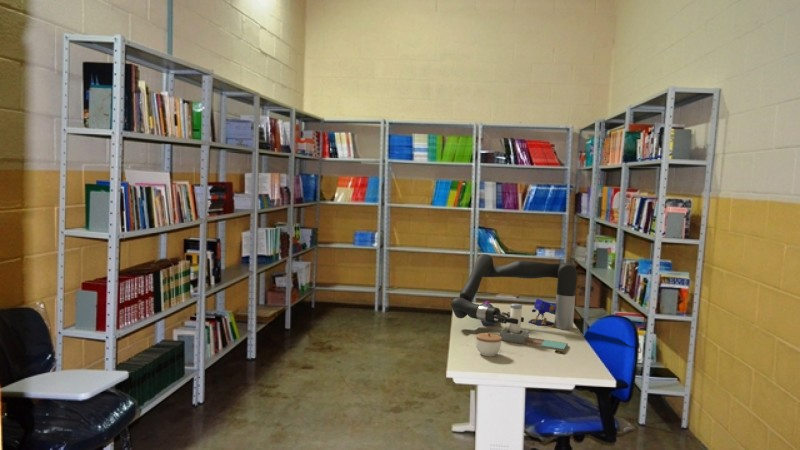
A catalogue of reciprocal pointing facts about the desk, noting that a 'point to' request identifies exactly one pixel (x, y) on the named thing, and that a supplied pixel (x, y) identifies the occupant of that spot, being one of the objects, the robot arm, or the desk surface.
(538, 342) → the base board
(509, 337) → the grey square socket
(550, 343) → the mat
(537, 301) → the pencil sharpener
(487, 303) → the pencil case
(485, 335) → the lidded jar
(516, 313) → the capped cream cylinder
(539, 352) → the desk surface
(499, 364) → the desk surface
